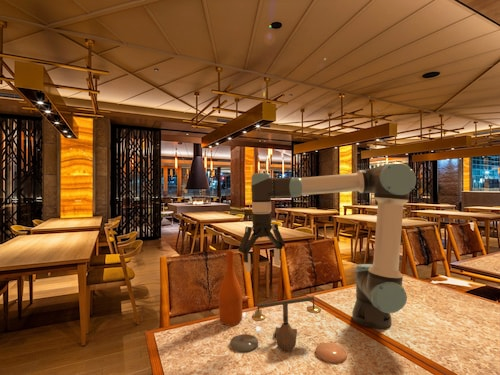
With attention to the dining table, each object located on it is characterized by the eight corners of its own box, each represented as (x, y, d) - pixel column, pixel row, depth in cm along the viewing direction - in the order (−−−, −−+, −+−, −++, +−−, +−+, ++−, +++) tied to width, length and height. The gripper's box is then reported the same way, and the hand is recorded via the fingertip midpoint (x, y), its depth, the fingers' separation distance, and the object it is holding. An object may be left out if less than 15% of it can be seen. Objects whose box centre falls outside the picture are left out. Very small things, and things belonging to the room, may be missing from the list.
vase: (295, 355, 93) (295, 329, 93) (275, 353, 94) (274, 327, 94) (296, 344, 99) (296, 319, 99) (277, 342, 101) (276, 318, 101)
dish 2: (345, 347, 97) (345, 344, 97) (348, 364, 87) (348, 361, 87) (315, 344, 99) (315, 341, 99) (315, 360, 89) (315, 357, 90)
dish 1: (260, 338, 104) (260, 335, 104) (255, 353, 94) (255, 350, 94) (234, 335, 106) (234, 333, 106) (226, 350, 96) (226, 347, 96)
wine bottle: (245, 317, 121) (244, 248, 122) (237, 327, 112) (236, 253, 112) (225, 314, 125) (224, 247, 125) (215, 324, 115) (214, 251, 116)
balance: (321, 335, 105) (320, 294, 105) (321, 342, 100) (320, 300, 100) (253, 328, 111) (252, 290, 111) (250, 335, 106) (250, 295, 106)
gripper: (281, 210, 118) (282, 261, 117) (228, 214, 105) (229, 270, 105) (292, 211, 111) (294, 264, 111) (238, 215, 98) (239, 275, 98)
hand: (262, 267), depth 108 cm, fingers open, 13 cm apart
